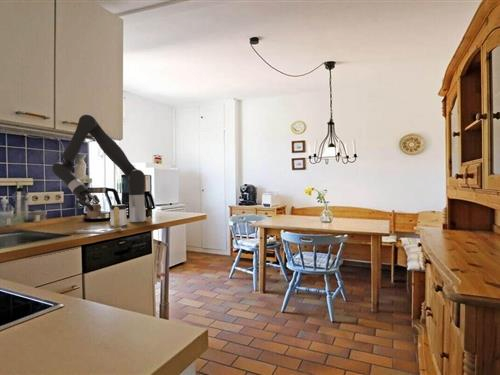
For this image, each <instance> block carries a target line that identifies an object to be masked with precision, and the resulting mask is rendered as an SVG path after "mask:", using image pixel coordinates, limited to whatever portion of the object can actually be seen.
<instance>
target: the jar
mask: <svg viewBox="0 0 500 375" xmlns="http://www.w3.org/2000/svg"><path fill="white" fill-rule="evenodd" d="M115 207H118V208H119V222H120V227H121V226H125V225H127V224H128V221H127V208H126V204H122V203H121V204H111V205H110V211H109V213H110V226H111V227H114V208H115Z"/></svg>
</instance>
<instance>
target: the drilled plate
mask: <svg viewBox="0 0 500 375" xmlns="http://www.w3.org/2000/svg"><path fill="white" fill-rule="evenodd" d="M113 232H115V230H114V229H112V228H90V227H89V228H84V229H83V228H82V229H78V230H75V233H76V234H77V233H78V234H96V235H97V234H100V235H101V234H102V235H104V234H108V233H113Z"/></svg>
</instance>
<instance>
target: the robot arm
mask: <svg viewBox="0 0 500 375" xmlns="http://www.w3.org/2000/svg"><path fill="white" fill-rule="evenodd" d="M88 135H90V136H91V137H92V138H93V139H94V140H95V142H96V144H97V145H98V146H99V148H100V149H101V151H102V152H103V154H105V155H106V156H107V158H109V159H110V161H111V162H113V164H114V165H116V166H117V167H118V169H120V171H121V172H122V173H123V174H124V175H125V177H126V178H127V179H128V181H129V190H128V203H129V204H128V205H129V208H128V209H129V223H141V222H142V223H143V222H146V220H147V216H146V215H147V214H146V211H147V210H146V205H145V191H146V178H145V173H144V171H142V170H141V169H137V168H136V167H135V166H134V165H133V163H132V162H130V160H129V158H128V157H127V155H126V154H125V152H124V150H123V149H122V148H121V147H120V146H119V144H118V143H117V142H116V141H114V139H113V138H112V137H111V136H109V134H108V133H106V132H105V130H104V129H103V128H102V127H101V124H99V123H98V121H97V119H96V118H95V117H94V116H93V115H91V114H87V113H86V114H83V115H81V116H80V117H79V119H78V122H77V126H76V128H75V131H74V133H73V135H72V137H71V139H70V141H69V142H68V143H67V145H66V147H65V149H64V151H63V153H62V155H61V158H62V159H63V160H64V161H63V162H55V163H54V164H52V167H51V169H52V172H53V174H54V175H55V176H57V177H58V178H59V179H60V180H61V181H63V182H64V184H65V185H66V186H67V187H68V189H69V190H70V191H71V193H72V194H73V195H74V196H75V197H76V198H75V201H76V202H77V203H78V204H80V205H81V206H82V207H86V208H87V207H88V208H89V210H90V211H93V210H94V208H93V207H92V205H91V204H99V203H100V201H101V200H100V199H99V198H98V196H97V194H94V195H93V194H91V193H90V190H89V188H88V187H87V186H86V185H85V183H83V181H81V179H79V178H78V176H77V175H76V174H74V173H73V172H72V171H73V168H74V164H75V160H76V159H77V157H78V155H79V153H80V152H81V149H82V147H83V144H84V142H85V139H86V138H87V136H88Z"/></svg>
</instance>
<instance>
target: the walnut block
mask: <svg viewBox="0 0 500 375" xmlns="http://www.w3.org/2000/svg"><path fill="white" fill-rule="evenodd" d="M90 204H91V203H90ZM91 205H92V207H93V208H94V210H93V211H90V210H89V208H88V207H86V215H87V216H86V217H87V218H98V217H102V211H101V210H102V205H101V204H99V203H98V204H91Z"/></svg>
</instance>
